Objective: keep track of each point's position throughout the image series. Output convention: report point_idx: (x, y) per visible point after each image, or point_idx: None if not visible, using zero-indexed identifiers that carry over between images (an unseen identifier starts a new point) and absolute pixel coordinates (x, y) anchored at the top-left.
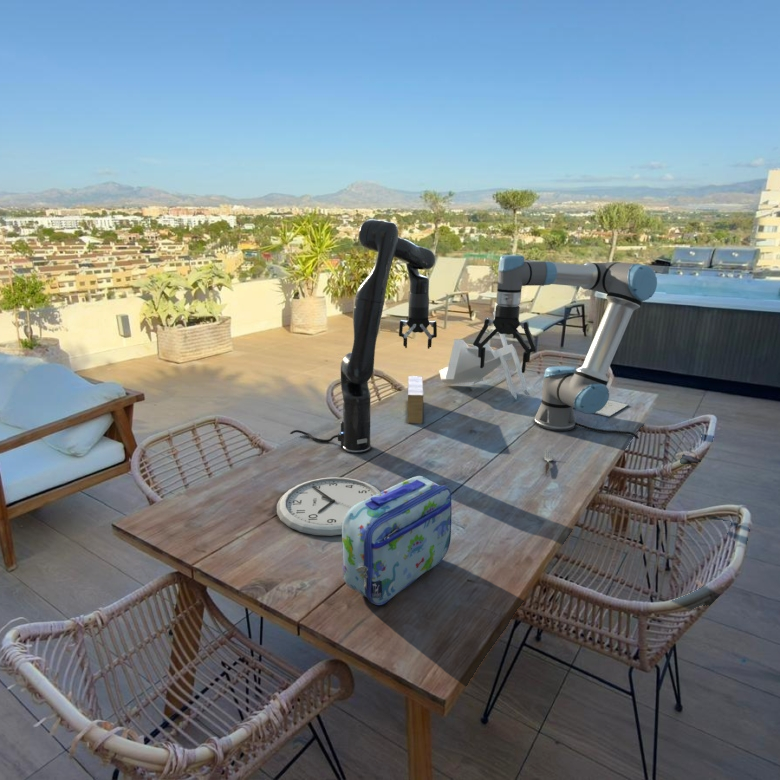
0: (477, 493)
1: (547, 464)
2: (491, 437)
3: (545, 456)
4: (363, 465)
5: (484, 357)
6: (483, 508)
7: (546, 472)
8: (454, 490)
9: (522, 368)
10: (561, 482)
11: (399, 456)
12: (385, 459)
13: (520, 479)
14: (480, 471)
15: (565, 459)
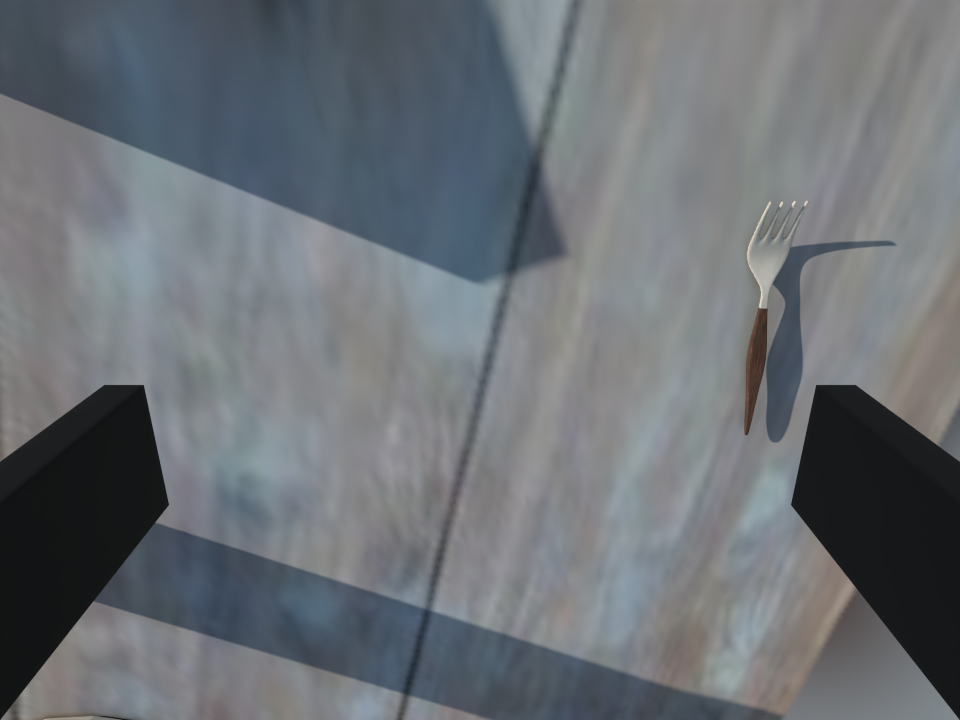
0: (495, 643)
1: (759, 343)
2: (418, 42)
3: (754, 240)
4: None
5: (45, 498)
6: (534, 712)
7: (749, 426)
8: (414, 652)
9: (832, 545)
10: None
11: None
12: None
13: (636, 496)
14: (465, 491)
15: (858, 205)
